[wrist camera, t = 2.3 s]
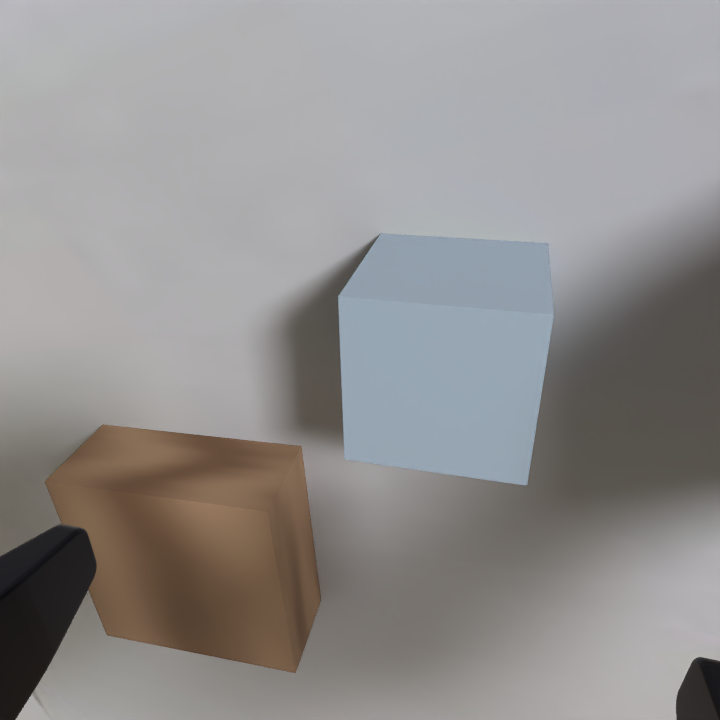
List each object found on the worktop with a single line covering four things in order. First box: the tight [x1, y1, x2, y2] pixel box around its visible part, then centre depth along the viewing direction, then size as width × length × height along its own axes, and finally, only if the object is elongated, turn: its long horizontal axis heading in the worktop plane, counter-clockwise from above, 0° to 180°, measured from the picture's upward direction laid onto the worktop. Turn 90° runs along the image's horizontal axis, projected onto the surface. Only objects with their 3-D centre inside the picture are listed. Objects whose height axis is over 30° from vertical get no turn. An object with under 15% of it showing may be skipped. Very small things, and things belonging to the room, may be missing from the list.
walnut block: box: [45, 425, 321, 673], centre depth 25 cm, size 9×9×4 cm
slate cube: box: [338, 234, 554, 486], centre depth 17 cm, size 5×5×5 cm
